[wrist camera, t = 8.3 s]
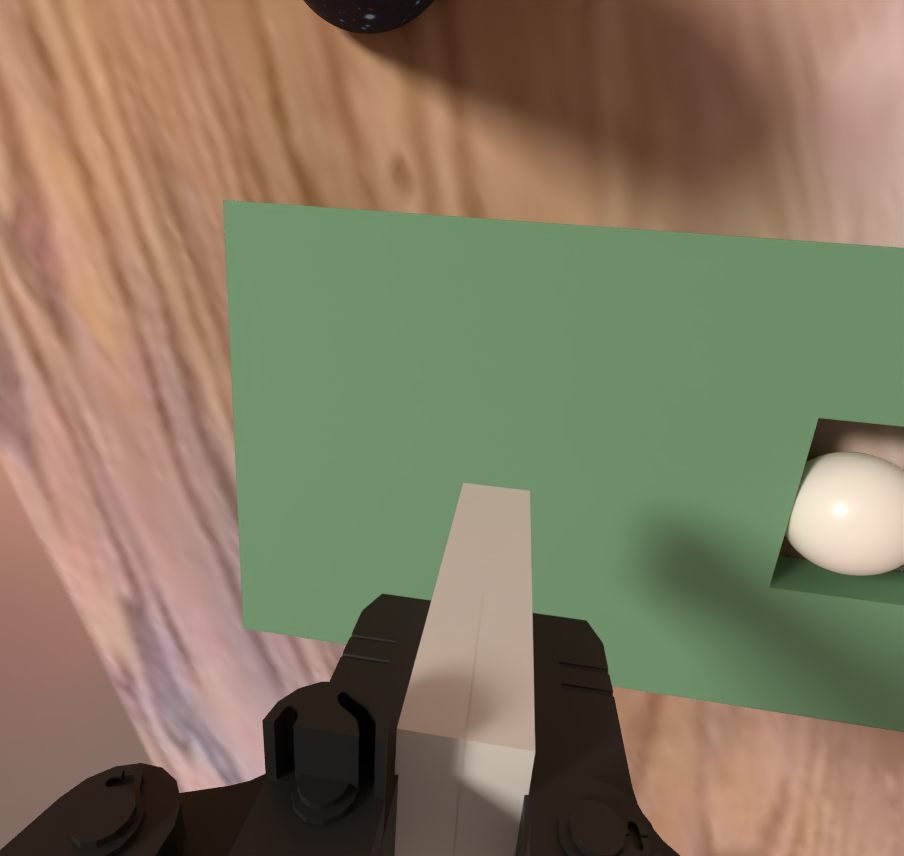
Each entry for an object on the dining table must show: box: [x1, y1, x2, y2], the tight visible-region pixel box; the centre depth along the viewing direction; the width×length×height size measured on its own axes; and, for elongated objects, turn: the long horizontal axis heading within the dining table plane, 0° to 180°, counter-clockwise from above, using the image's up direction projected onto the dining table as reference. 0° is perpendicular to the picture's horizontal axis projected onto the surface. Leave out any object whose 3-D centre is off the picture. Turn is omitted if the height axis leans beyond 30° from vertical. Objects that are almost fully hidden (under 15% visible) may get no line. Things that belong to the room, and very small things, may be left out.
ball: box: [785, 452, 904, 576], centre depth 17 cm, size 4×4×4 cm
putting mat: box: [223, 200, 904, 732], centre depth 19 cm, size 16×28×2 cm, turn 85°
